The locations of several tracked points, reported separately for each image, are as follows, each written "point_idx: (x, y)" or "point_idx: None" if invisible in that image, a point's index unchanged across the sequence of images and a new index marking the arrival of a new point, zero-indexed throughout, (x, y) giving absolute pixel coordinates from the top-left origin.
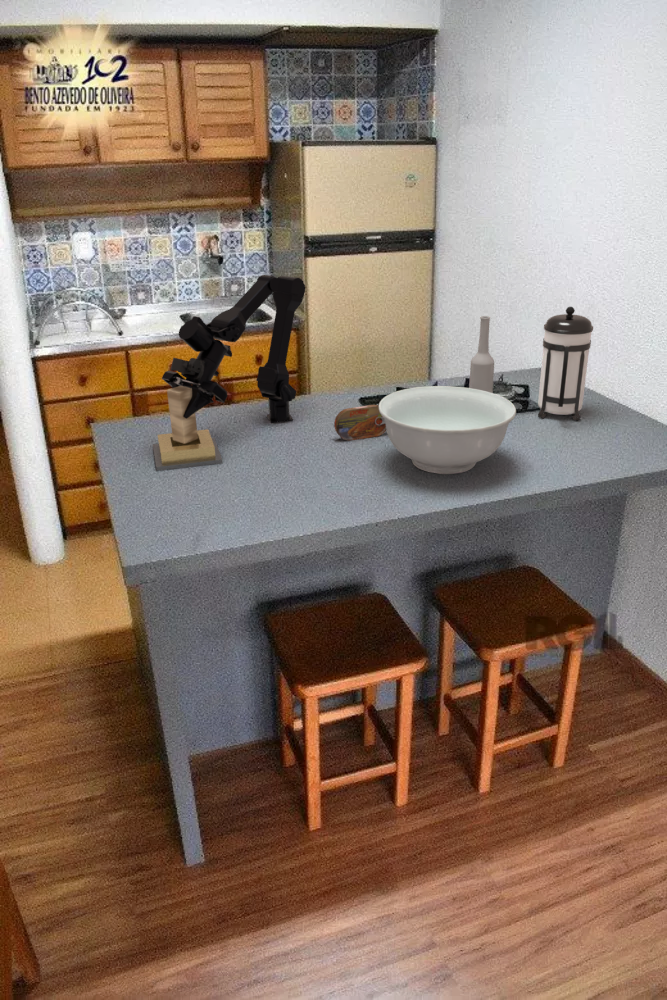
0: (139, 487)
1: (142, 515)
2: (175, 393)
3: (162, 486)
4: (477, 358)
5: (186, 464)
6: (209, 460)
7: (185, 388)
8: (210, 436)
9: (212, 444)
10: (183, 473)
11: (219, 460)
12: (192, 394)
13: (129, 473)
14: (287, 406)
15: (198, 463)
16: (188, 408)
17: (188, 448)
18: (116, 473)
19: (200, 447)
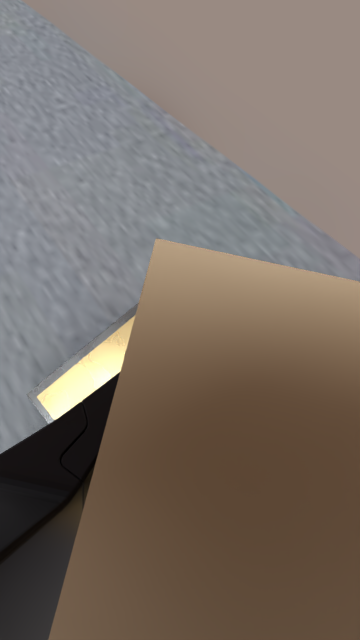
0: (163, 174)
1: (66, 82)
2: (246, 268)
3: (113, 196)
4: None
5: (125, 314)
6: (65, 366)
7: (242, 611)
8: None
9: (56, 413)
10: (110, 279)
11: (36, 386)
12: (44, 510)
13: (247, 225)
14: None
15: (95, 339)
16: (116, 379)
17: (127, 335)
18: (276, 214)
19: (88, 364)
